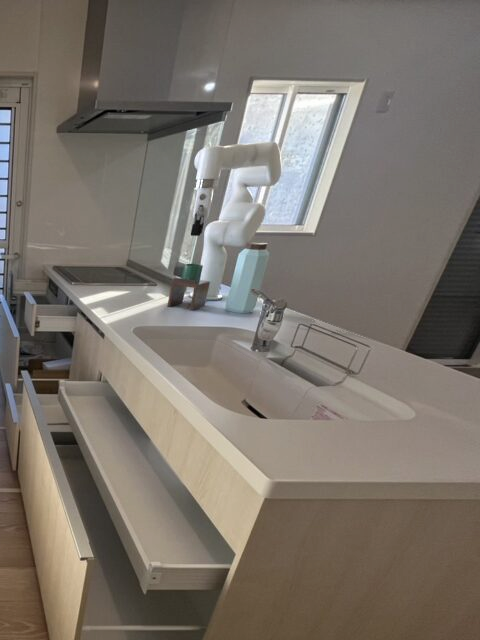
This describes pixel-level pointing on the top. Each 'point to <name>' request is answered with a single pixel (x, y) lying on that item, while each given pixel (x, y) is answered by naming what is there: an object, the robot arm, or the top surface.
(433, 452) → the top surface
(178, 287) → the shelf
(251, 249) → the water bottle
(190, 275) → the pot
